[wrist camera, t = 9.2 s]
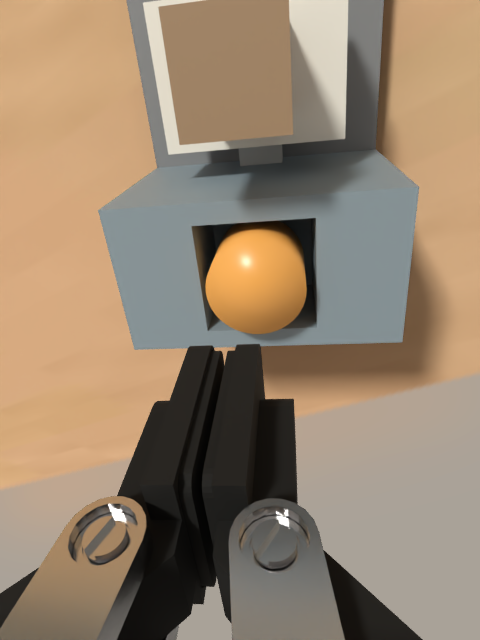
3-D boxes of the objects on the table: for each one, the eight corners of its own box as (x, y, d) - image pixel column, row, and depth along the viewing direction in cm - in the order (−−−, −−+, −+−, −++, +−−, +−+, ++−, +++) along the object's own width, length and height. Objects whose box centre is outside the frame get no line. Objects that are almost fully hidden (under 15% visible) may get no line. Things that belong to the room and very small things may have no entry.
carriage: (337, -7, 17) (385, -87, 9) (335, 127, 20) (371, 169, 11) (170, 16, 18) (64, -36, 10) (188, 141, 21) (117, 189, 12)
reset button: (302, 213, 17) (305, 239, 14) (304, 296, 18) (307, 332, 16) (212, 219, 17) (198, 245, 14) (222, 299, 19) (212, 335, 16)
